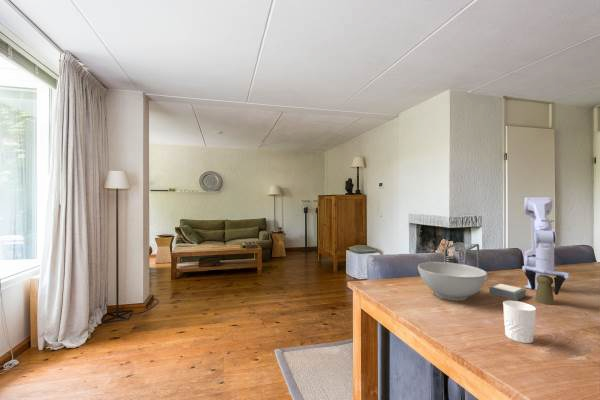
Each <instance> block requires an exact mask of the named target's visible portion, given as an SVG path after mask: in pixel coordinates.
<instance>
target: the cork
mask: <svg viewBox="0 0 600 400" xmlns="http://www.w3.org/2000/svg"><path fill="white" fill-rule="evenodd" d="M536 280H537V282H538V287H537V290H536V293H535V299H534V300H535V302H537V303H539V304H542V305H547V306H553V305H555V300H554V299H555V297H554V293H553V287H552V285H553V283H554V278H552V277H551V276H550V275H549V276H545V275H539V276H537V278H536Z"/></svg>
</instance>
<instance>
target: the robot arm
mask: <svg viewBox="0 0 600 400" xmlns="http://www.w3.org/2000/svg"><path fill="white" fill-rule="evenodd" d="M523 202H524V203H523V204H524V206H523V207H524V208H523V209H524V214H525V215H527V216H529V217H530V218H529V219H530V234H531V235H530V236H531V238H530V239H531V245H530V246H531V249H528V250H526V251H525V252H524V254H523V255H524V256H523V264H524V265H522V269H521V270H522V272H523V271H524V275H525V276H526V278H527V284H526V285H524V288H525V289H526V288H527V289H531V290H534V291H537V287H538V282H537V280H536V278H537V276H539V275H545V276H549V277H550V276H553V283H554V295H559V292H560V290H561V287H562V285H563V283H564V282H565V281H566V279H570V272H564V271H561V270H560V271H559V270H556V269H555V245H556V243H557V233H556V231H555V229H554V228H553V225H552V221H551V220H550V219H549V218H548V216H549V215H550V213H552V209H553V198H552V197H551V196H548V197H546V196H545V197H541V196H540V197H538V196H537V197H535V196H534V197H532V196H531V197H528V196H525V198H524V201H523Z"/></svg>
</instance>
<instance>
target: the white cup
mask: <svg viewBox="0 0 600 400" xmlns="http://www.w3.org/2000/svg"><path fill="white" fill-rule="evenodd" d="M502 308H503V309H502V310H503V324H504V334H505V336H506V338H508V339H510V340H512V341H516V342H518V343H523V344H531V343H534V339H535V338H534V337H535V336H534V335H535V327H536V315H537V314H536V313H537V312H536V311H537V308H536V307H535V306H534V305H532V304H528V303H525V302H522V301H518V300H517V301H516V300H505V301H503V302H502Z"/></svg>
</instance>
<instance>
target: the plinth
mask: <svg viewBox="0 0 600 400" xmlns="http://www.w3.org/2000/svg"><path fill="white" fill-rule="evenodd" d="M526 291H527V290H526V288H522V287H517V286H514V285H508V284H505V283H504V284H503V283H498V284H494V285H491V286H489V294H490V295H494V296H497V297H501V298H505V299H509V300H511V301H518V300H520V299H523V298H525V297H526Z"/></svg>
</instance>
